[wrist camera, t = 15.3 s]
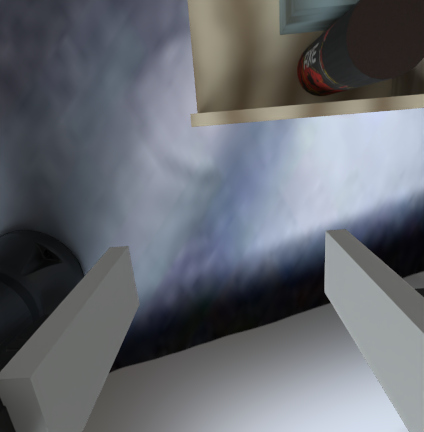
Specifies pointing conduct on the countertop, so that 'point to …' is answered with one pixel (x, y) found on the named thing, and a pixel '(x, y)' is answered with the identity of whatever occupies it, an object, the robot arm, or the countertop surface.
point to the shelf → (276, 63)
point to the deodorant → (364, 47)
